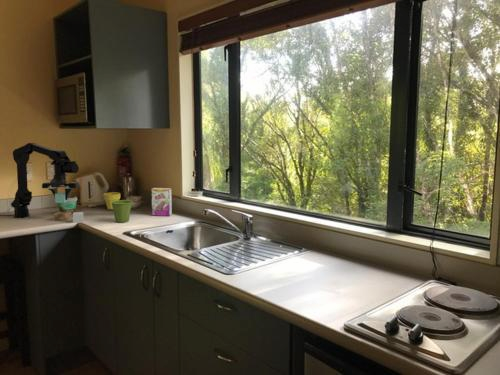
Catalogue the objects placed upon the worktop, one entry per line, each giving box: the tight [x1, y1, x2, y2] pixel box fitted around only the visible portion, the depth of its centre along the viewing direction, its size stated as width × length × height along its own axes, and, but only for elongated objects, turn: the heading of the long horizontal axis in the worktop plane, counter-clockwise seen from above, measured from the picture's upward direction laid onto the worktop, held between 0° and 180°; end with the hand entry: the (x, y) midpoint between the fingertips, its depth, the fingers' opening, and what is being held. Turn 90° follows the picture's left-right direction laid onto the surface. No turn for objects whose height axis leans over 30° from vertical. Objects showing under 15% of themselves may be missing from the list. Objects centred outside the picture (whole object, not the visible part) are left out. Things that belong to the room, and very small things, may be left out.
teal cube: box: [54, 192, 68, 204], centre depth 240 cm, size 5×5×5 cm
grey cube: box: [72, 211, 85, 224], centre depth 235 cm, size 5×5×5 cm
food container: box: [57, 195, 78, 215], centre depth 256 cm, size 12×6×10 cm, turn 143°
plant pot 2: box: [111, 199, 134, 223], centre depth 237 cm, size 12×12×11 cm
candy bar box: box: [150, 187, 173, 217], centre depth 254 cm, size 11×5×16 cm, turn 84°
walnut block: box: [52, 211, 73, 222], centre depth 241 cm, size 7×7×4 cm
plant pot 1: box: [103, 192, 121, 210], centre depth 276 cm, size 10×10×10 cm
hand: (61, 200), depth 240 cm, fingers closed on teal cube, 5 cm apart
